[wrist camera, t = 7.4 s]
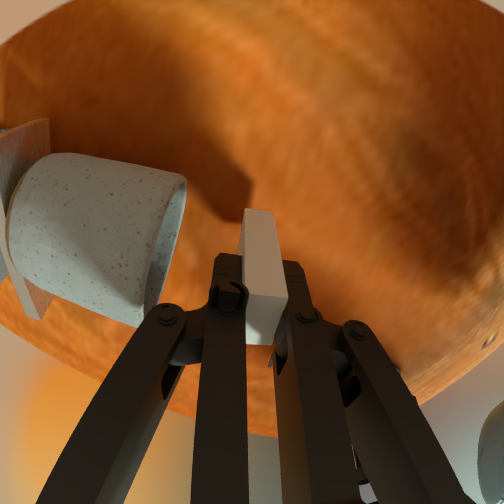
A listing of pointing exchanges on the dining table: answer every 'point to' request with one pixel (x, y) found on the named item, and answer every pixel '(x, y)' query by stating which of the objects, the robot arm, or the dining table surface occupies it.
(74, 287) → the ceramic mug
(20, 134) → the plunger
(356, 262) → the dining table surface
